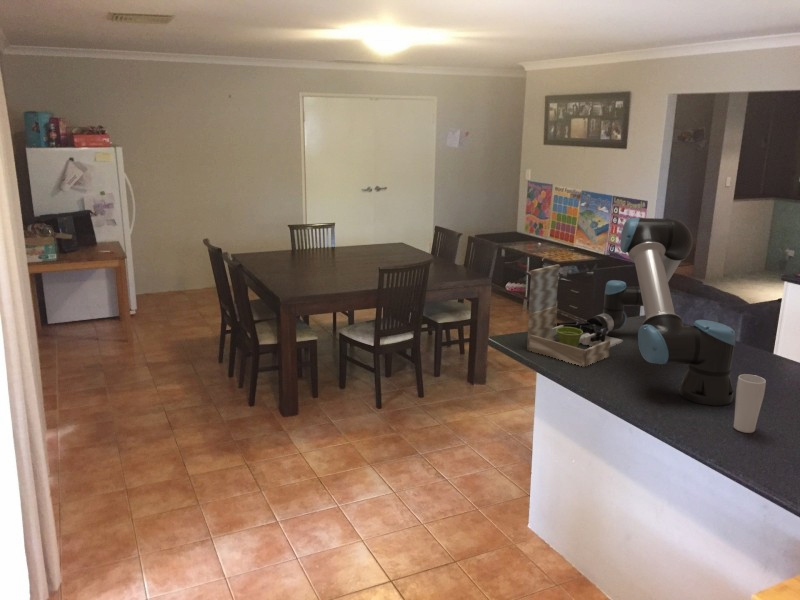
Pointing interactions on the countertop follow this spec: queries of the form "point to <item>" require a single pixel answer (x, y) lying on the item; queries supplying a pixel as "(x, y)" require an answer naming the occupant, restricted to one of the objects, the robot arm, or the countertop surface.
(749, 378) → the drinking glass
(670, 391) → the countertop surface
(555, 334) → the robot arm
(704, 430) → the countertop surface
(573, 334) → the plant pot
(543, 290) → the zigzag patterned stand
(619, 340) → the stone pad
